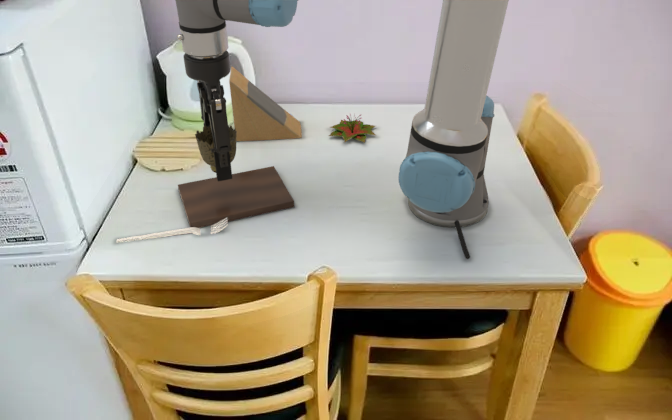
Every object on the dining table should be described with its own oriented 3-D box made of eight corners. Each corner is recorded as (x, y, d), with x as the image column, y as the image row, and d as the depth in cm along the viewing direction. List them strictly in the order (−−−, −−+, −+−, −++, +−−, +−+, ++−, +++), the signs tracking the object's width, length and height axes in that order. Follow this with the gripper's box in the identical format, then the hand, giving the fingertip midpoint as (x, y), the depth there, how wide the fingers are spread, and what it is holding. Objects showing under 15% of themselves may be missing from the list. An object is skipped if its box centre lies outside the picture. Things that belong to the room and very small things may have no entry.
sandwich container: (302, 138, 138) (300, 77, 129) (235, 141, 137) (228, 80, 128) (300, 121, 145) (298, 62, 136) (237, 124, 144) (230, 65, 135)
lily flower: (337, 118, 146) (337, 101, 144) (384, 126, 143) (385, 108, 140) (319, 140, 137) (319, 122, 135) (369, 149, 134) (369, 131, 131)
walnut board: (294, 207, 115) (294, 200, 115) (190, 229, 110) (189, 223, 109) (274, 171, 126) (273, 165, 125) (178, 190, 120) (177, 184, 119)
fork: (117, 238, 108) (115, 230, 107) (228, 223, 112) (227, 215, 111) (116, 249, 106) (113, 241, 105) (229, 234, 109) (228, 226, 108)
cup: (223, 183, 109) (218, 144, 104) (192, 173, 112) (186, 135, 107) (248, 166, 114) (244, 128, 110) (218, 156, 117) (213, 119, 113)
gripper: (174, 35, 106) (191, 147, 119) (194, 76, 91) (211, 200, 104) (215, 30, 108) (228, 141, 122) (242, 70, 93) (252, 192, 107)
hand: (220, 168), depth 113 cm, fingers closed on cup, 7 cm apart
